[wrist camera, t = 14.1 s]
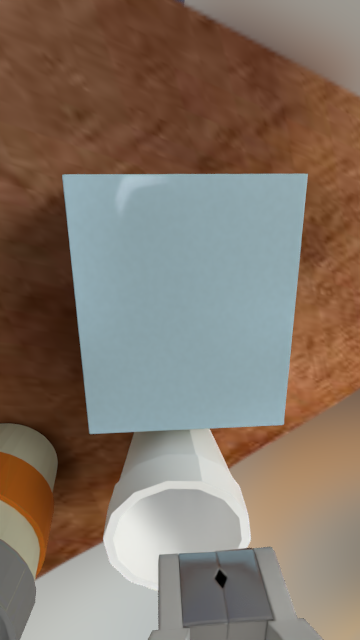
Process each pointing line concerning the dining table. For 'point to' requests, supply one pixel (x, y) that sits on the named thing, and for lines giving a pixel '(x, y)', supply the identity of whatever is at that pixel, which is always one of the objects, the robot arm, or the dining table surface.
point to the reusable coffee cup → (23, 521)
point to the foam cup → (172, 503)
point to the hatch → (184, 296)
